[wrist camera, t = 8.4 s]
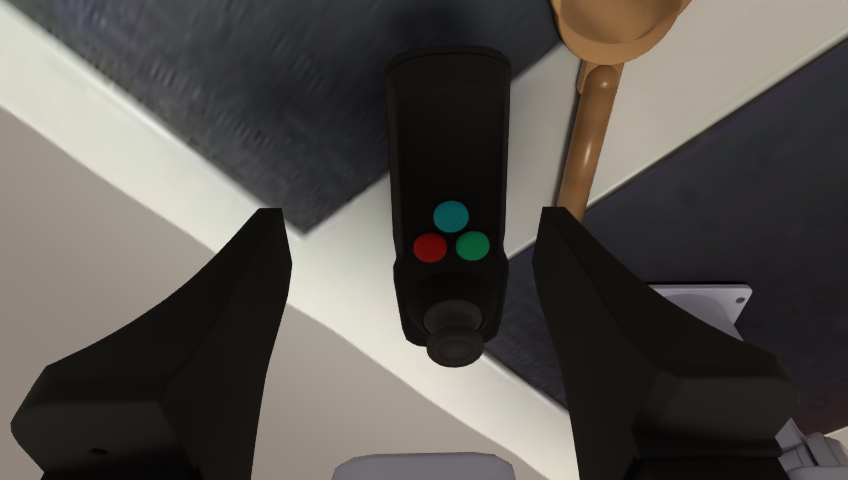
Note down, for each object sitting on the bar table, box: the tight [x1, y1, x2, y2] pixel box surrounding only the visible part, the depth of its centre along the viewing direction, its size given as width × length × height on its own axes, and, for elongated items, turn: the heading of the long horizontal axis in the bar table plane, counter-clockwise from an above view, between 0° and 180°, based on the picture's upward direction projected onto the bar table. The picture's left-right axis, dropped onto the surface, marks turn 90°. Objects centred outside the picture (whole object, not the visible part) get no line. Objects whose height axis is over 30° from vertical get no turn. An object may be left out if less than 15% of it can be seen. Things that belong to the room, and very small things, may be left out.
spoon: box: [549, 0, 692, 224], centre depth 23 cm, size 17×6×1 cm, turn 179°
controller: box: [384, 45, 511, 368], centre depth 21 cm, size 4×12×10 cm, turn 2°
